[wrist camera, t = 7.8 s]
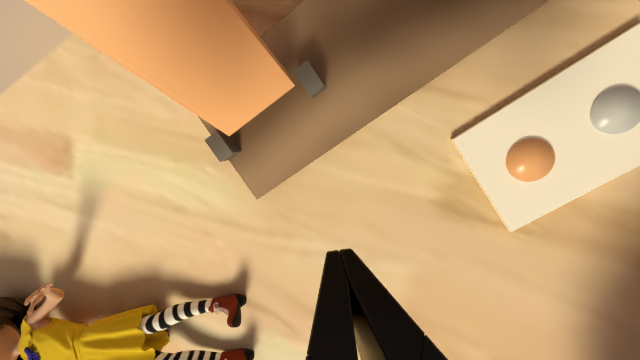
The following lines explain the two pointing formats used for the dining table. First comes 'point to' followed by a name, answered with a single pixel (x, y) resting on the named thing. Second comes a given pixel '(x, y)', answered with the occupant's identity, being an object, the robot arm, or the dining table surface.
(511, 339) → the dining table surface
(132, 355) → the figurine
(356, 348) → the robot arm
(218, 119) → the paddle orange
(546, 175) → the card
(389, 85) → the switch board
